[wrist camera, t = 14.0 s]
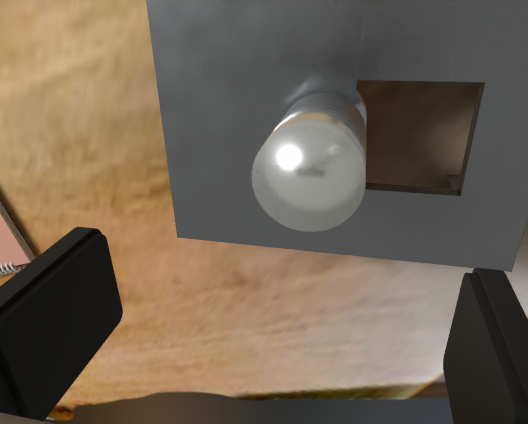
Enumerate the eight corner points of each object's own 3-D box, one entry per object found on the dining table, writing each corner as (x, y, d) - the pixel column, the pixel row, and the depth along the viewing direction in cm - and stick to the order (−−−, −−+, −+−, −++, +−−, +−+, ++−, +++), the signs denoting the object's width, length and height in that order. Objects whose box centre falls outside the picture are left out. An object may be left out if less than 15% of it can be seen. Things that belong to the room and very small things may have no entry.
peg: (370, 79, 26) (371, 128, 17) (363, 153, 29) (360, 236, 19) (292, 78, 28) (249, 123, 18) (291, 150, 30) (253, 226, 20)
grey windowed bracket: (538, -22, 25) (603, -30, 18) (480, 213, 32) (511, 271, 25) (196, -12, 30) (144, -15, 23) (213, 192, 37) (177, 237, 30)
